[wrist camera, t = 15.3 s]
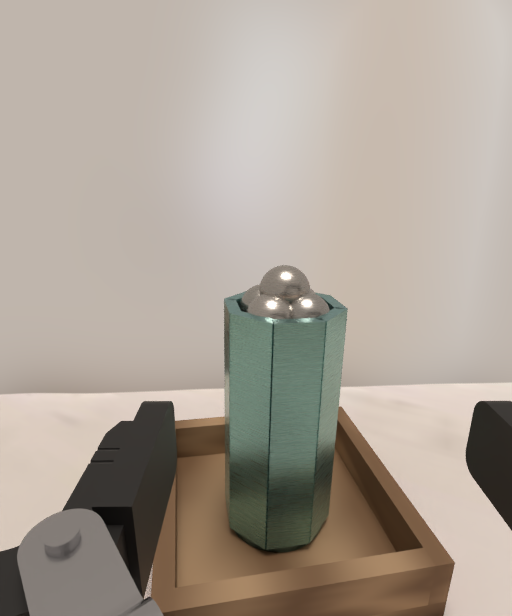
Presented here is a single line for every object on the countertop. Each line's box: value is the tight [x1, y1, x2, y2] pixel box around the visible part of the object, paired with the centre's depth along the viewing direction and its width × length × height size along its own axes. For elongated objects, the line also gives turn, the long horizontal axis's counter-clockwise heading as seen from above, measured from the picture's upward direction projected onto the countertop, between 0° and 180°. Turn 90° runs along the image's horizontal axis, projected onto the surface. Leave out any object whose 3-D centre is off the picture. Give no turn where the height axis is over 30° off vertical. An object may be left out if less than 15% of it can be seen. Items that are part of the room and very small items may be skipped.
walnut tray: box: [151, 407, 455, 616], centre depth 25 cm, size 14×14×4 cm
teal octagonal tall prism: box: [224, 265, 347, 553], centre depth 23 cm, size 6×6×16 cm
